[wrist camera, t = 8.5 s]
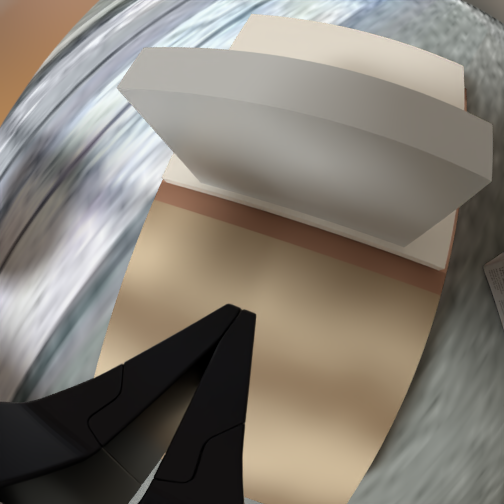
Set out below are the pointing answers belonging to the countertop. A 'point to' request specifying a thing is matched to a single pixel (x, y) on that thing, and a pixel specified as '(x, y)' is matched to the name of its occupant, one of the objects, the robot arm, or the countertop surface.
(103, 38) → the countertop surface
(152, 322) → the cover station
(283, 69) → the white l-shaped piece
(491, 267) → the coffee box
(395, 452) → the countertop surface
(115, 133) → the countertop surface
